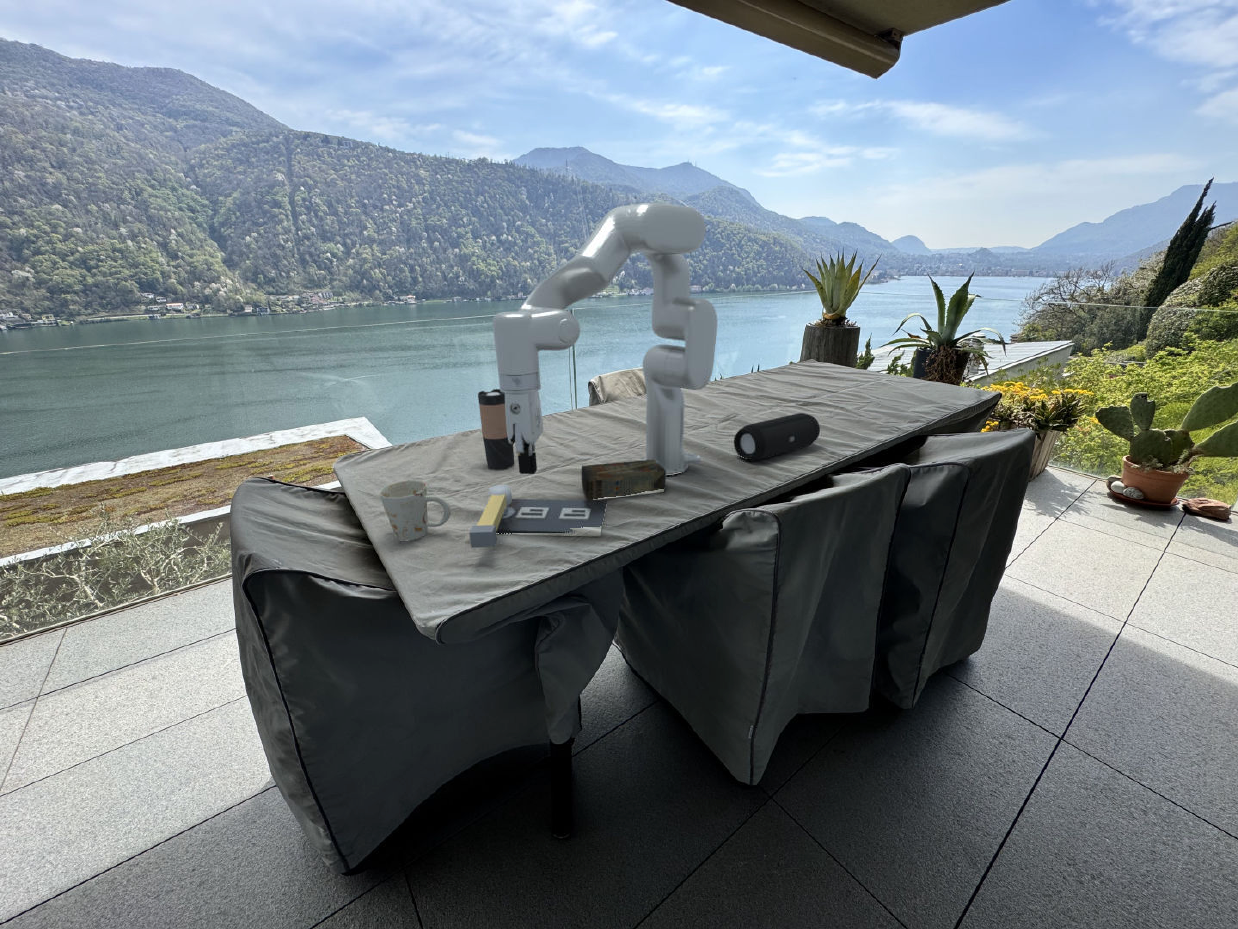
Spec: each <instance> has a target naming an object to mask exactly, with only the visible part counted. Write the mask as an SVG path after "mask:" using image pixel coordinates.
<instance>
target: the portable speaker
mask: <svg viewBox="0 0 1238 929" xmlns="http://www.w3.org/2000/svg"><path fill="white" fill-rule="evenodd" d="M820 432H821V427H820V424H819V421H818V420H817V418H815V417H814V416H813V415H811V414H807V413H803V412H799V413H795V414H790V415H785V416H781V417H777V418H773V419H772V418H771V419H768V420H764V421H760V422H755V423H750V424H747V425H744V426H743V427H742V428H740V429H739V430H738V431H737V432H736V433H735V435H734V438H733V447H734V450H735V452H736V454H737V455H738V456H739V455H740V456H742V457H744V458H747V459H750V460H749V461H751V460H757V461H760V460H763V458H764V459H767V458H770V457H769V456H771V457H773V455H774V456H777V455H776V454H778V455H781V454H784V453H787V452H791V451H796V450H798V448H799V449H803V448H806V447H809V446H811V445H812V444H814V442H815V441H816V440H817V439H818V437H819V436H820ZM795 449H796V450H795ZM740 456H739V457H740ZM766 457H767V458H766ZM759 459H760V460H759Z"/></svg>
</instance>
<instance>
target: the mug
mask: <svg viewBox="0 0 1238 929" xmlns="http://www.w3.org/2000/svg"><path fill="white" fill-rule="evenodd" d="M378 493H379V494H378V495H379V497H380V500H381V503H382V505H383V508H384V511H385V513H386V516H387V518H388V519H387V520H388V521H389V524H390V526H391V530H392V533H393V534H394V536H395V538H396V540H398V539H399V540H398V541H400V540H412V541H415V539H416V540H418V538H419V539H420V537H421V538H422V536H423V535H424V536H426V535H427V534H428V531H429V528H433V527H434V528H435V527H436V528H437V527H441V526H443V525H444V524H446V523H447V522H448V520H449V519H450V518H451V514H452V513H451V510H452V509H451V507H450V505H449V503H448V502H447V500H445V498H444V497H442V496H439V495H427V494H428V490H427V485H426V483H425V482H424V481H422V480H419V479H403V480H400V481H394V482H392V483H389V484H387V485H385V486H383V487H382V488H381V489H380V490H379V492H378ZM429 502H435V503H437V504H439V505H441V508H443V511H444V512H443V516H442V517H441V519H440V520H439V521H435V522H433V521H432V522H431V521H429V520H428V503H429ZM425 534H426V535H425ZM424 536H423V537H424Z"/></svg>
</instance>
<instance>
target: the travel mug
mask: <svg viewBox="0 0 1238 929" xmlns="http://www.w3.org/2000/svg"><path fill="white" fill-rule="evenodd" d="M477 398H478V399H477V400H478V405H479V406H478V408H479V414H480V425H481V432H482V439H483V447H484V451H485V452H484V453H485V459H486V463H487V468H488V469H491V470H495V471H499V470H507V469H510V468H512V467H514V465H515V453H514V452H515V451H514V449H515V448H514V444H513V445H511V444H510V443H509V441H508V436H507V427H506V414H505V393H503V392H501V391H500V388H497V389H496V388H494V389H492V390H491V391H485V390H480V391H479V392H478V393H477Z"/></svg>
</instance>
